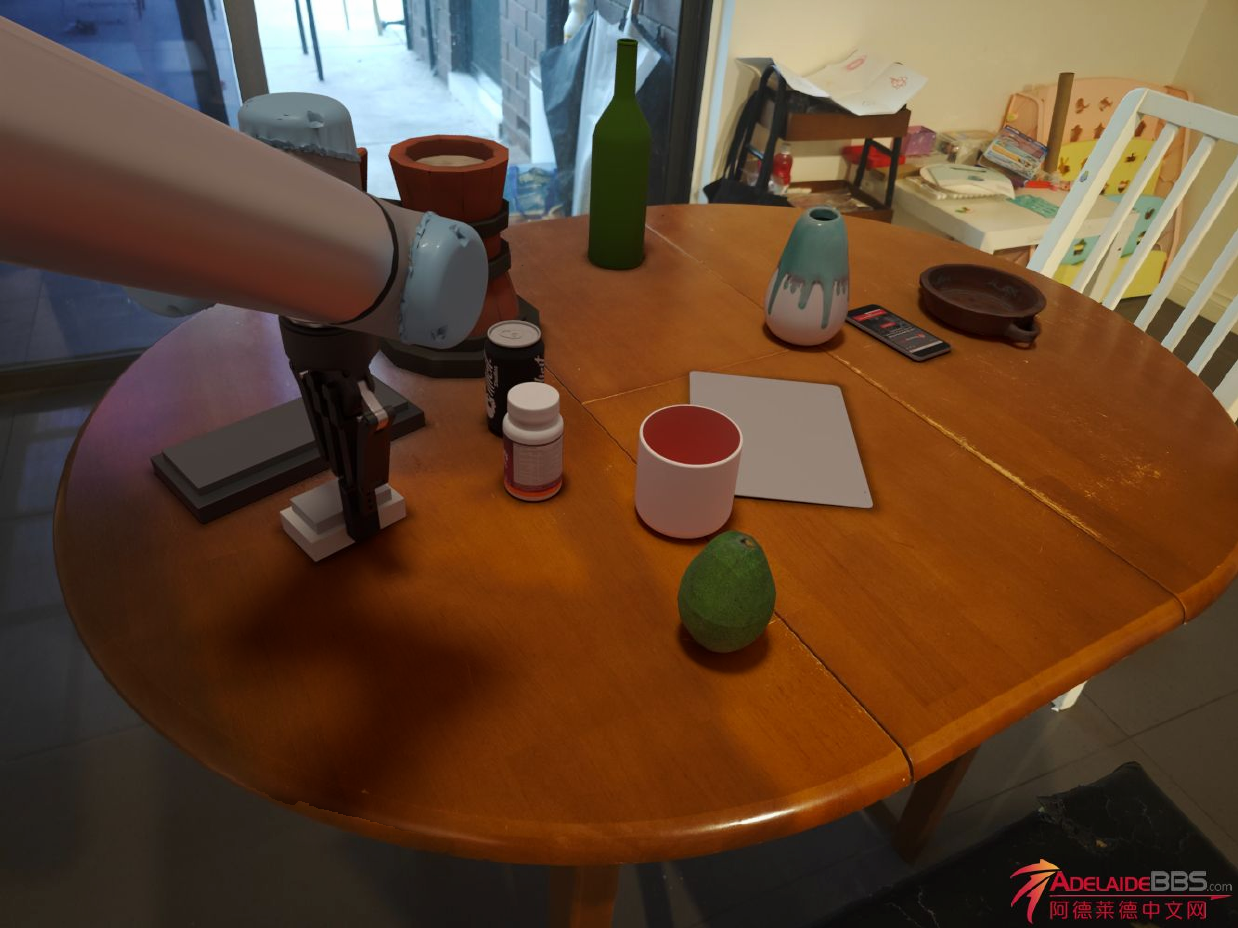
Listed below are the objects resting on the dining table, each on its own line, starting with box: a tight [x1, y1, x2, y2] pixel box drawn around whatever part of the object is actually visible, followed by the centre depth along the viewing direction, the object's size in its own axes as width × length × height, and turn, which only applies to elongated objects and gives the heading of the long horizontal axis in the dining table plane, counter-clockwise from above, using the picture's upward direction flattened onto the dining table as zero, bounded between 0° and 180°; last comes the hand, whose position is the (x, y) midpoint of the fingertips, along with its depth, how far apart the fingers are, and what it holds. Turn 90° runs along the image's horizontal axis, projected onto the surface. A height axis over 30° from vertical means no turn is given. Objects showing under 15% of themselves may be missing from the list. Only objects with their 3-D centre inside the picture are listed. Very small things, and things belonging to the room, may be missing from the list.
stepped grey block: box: [279, 477, 407, 563], centre depth 83 cm, size 10×6×4 cm, turn 135°
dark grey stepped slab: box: [149, 373, 426, 525], centre depth 93 cm, size 26×11×3 cm, turn 136°
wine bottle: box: [587, 37, 653, 271], centre depth 129 cm, size 9×9×32 cm
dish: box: [918, 263, 1047, 344], centre depth 128 cm, size 18×22×5 cm
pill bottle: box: [502, 382, 565, 502], centre depth 87 cm, size 6×6×11 cm
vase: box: [762, 205, 851, 347], centre depth 116 cm, size 12×12×18 cm
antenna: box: [689, 370, 874, 509], centre depth 101 cm, size 25×24×1 cm
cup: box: [634, 404, 743, 540], centre depth 85 cm, size 10×10×10 cm
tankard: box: [357, 133, 541, 379], centre depth 108 cm, size 22×25×25 cm
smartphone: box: [845, 303, 953, 362], centre depth 123 cm, size 7×1×15 cm
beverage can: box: [484, 320, 546, 436], centre depth 96 cm, size 7×7×12 cm
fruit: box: [676, 530, 777, 654], centre depth 71 cm, size 8×8×12 cm
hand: (364, 532), depth 81 cm, fingers closed
